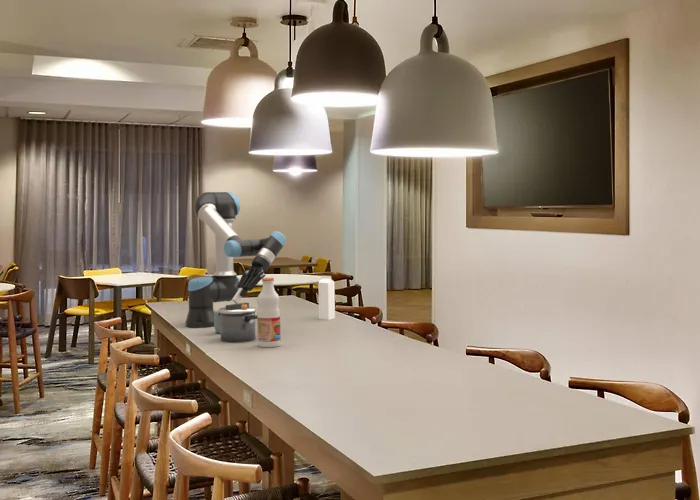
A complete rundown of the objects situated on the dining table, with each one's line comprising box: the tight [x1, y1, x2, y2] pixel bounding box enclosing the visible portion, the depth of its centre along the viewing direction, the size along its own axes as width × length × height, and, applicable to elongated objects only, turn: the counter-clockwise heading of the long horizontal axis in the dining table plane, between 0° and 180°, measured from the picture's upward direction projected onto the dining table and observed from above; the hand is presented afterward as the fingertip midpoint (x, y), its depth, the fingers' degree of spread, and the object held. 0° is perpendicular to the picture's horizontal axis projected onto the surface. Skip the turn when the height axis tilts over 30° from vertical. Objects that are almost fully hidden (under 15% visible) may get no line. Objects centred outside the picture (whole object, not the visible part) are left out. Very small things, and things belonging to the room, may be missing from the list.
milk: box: [317, 275, 336, 321], centre depth 388 cm, size 6×6×22 cm
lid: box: [218, 302, 257, 314], centre depth 332 cm, size 16×16×3 cm
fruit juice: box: [256, 277, 282, 348], centre depth 315 cm, size 9×9×28 cm
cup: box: [213, 309, 220, 334], centre depth 350 cm, size 8×8×10 cm
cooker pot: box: [219, 312, 257, 343], centre depth 332 cm, size 15×20×12 cm
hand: (234, 301), depth 330 cm, fingers closed
